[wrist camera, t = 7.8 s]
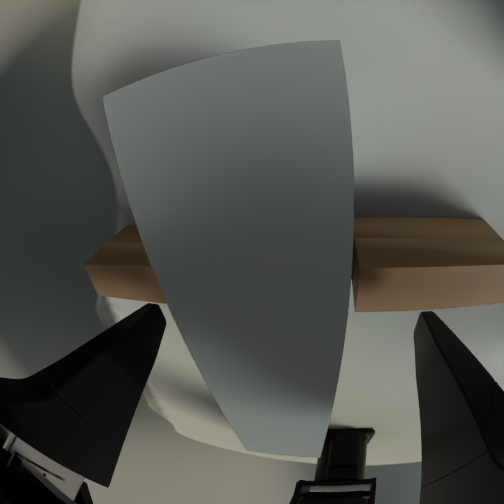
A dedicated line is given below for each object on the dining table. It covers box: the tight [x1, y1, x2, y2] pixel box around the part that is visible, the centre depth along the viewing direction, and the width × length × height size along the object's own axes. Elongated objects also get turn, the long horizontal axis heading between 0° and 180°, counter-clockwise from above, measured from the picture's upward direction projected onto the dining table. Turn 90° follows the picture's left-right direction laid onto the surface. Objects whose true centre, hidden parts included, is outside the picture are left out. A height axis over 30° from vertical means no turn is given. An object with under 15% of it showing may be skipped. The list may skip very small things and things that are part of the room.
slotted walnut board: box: [84, 217, 504, 312], centre depth 11 cm, size 2×20×4 cm, turn 99°
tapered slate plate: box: [102, 40, 354, 458], centre depth 10 cm, size 14×4×8 cm, turn 9°
